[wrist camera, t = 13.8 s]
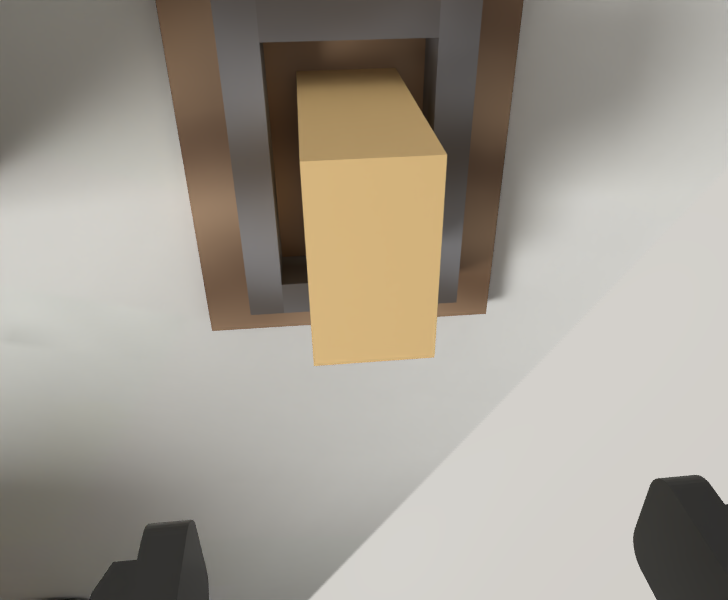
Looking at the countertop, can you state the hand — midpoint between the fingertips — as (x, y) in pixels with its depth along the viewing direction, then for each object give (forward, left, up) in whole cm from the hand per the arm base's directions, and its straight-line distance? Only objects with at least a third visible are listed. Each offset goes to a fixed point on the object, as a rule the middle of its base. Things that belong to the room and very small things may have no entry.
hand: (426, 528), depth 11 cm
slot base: (0, 0, -20) cm, 20 cm away
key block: (0, 0, -19) cm, 19 cm away
